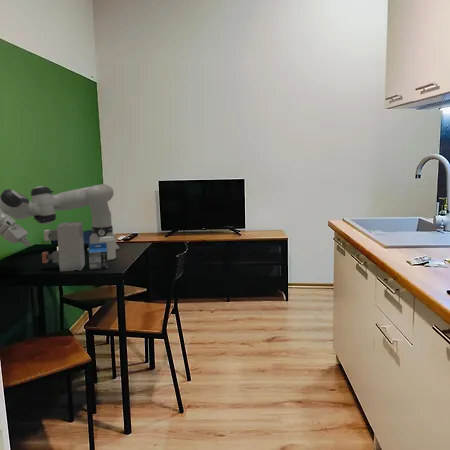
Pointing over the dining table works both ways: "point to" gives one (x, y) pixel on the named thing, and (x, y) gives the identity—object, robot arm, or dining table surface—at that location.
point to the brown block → (46, 257)
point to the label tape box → (98, 256)
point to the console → (69, 246)
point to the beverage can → (109, 246)
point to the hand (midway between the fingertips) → (29, 245)
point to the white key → (47, 235)
